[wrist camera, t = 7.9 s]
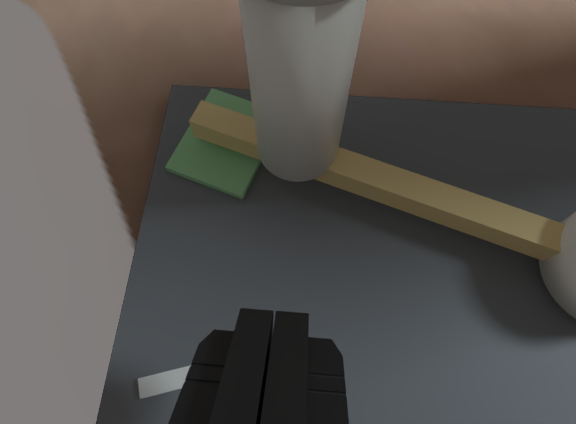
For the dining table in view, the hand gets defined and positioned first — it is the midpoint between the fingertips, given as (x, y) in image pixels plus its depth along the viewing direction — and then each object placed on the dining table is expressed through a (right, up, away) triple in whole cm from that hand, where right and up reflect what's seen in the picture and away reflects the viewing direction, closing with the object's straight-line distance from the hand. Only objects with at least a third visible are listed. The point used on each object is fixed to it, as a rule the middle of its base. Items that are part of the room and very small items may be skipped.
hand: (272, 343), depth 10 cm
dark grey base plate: (+4, +1, +6) cm, 8 cm away
